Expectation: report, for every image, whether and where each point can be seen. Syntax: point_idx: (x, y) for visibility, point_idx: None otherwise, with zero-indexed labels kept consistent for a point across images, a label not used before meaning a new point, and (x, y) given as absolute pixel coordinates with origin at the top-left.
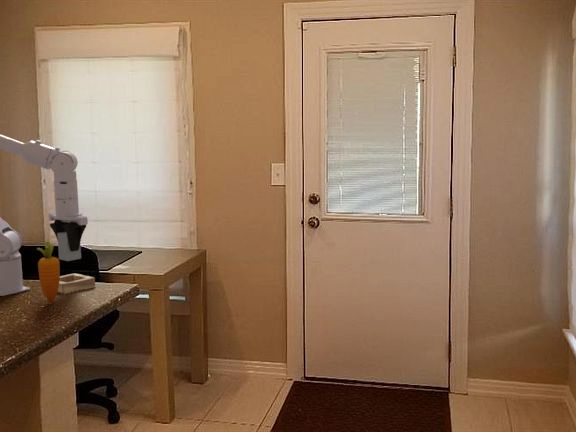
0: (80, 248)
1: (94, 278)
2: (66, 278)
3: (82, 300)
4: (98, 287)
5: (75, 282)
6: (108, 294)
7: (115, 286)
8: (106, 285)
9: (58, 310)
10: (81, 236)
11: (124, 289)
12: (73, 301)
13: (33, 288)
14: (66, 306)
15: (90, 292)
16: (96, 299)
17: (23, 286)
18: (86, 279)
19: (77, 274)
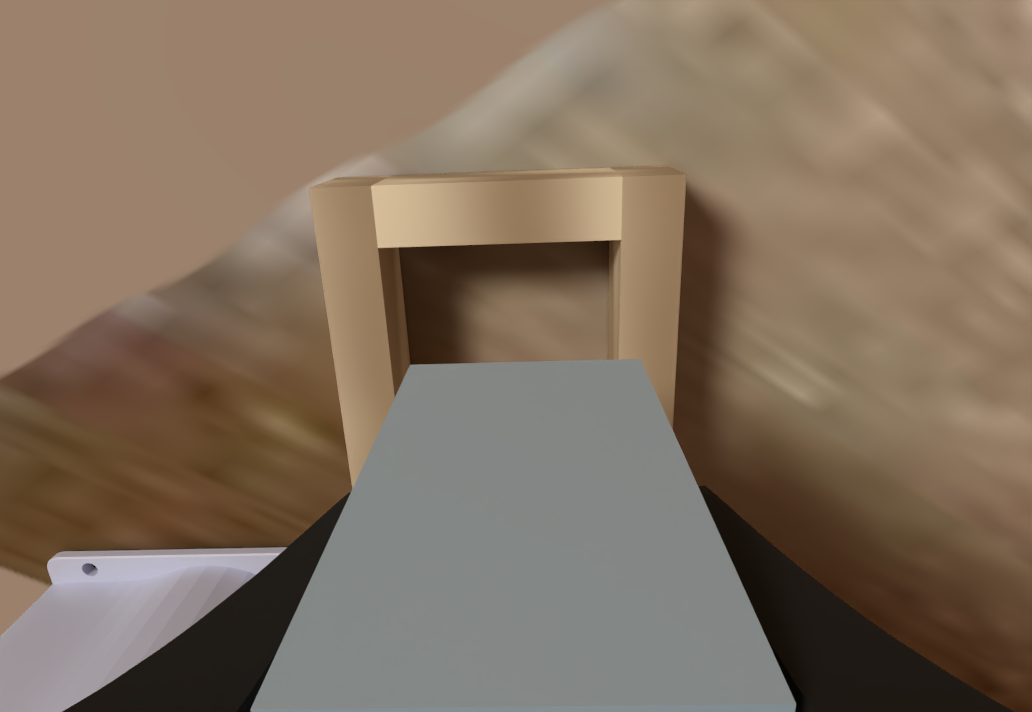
0: (669, 431)
1: (683, 177)
2: (391, 322)
3: (918, 475)
4: (707, 156)
5: (673, 401)
6: (988, 251)
7: (831, 15)
8: (713, 52)
9: (953, 674)
10: (908, 653)
11: (1009, 34)
12: (876, 524)
13: (281, 504)
14: (930, 608)
15: (786, 308)
16: (1002, 401)
17: (229, 560)
18: (674, 276)
19: (392, 205)
